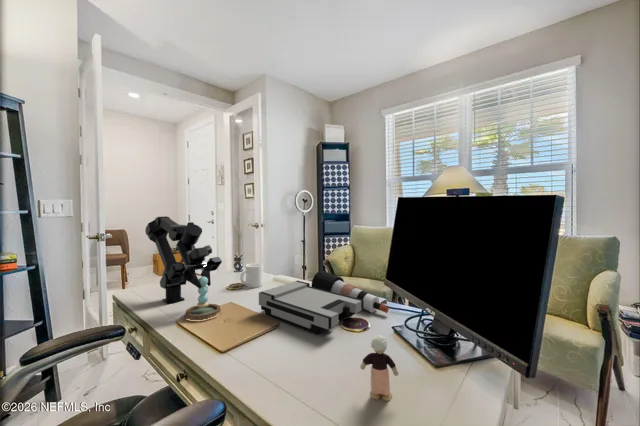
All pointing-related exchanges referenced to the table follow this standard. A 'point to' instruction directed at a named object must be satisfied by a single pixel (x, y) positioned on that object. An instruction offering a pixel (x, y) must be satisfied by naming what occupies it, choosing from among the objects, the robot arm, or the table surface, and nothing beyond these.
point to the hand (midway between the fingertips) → (205, 286)
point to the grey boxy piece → (308, 306)
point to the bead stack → (203, 293)
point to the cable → (346, 290)
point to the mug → (253, 275)
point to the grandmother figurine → (379, 369)
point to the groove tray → (202, 312)
